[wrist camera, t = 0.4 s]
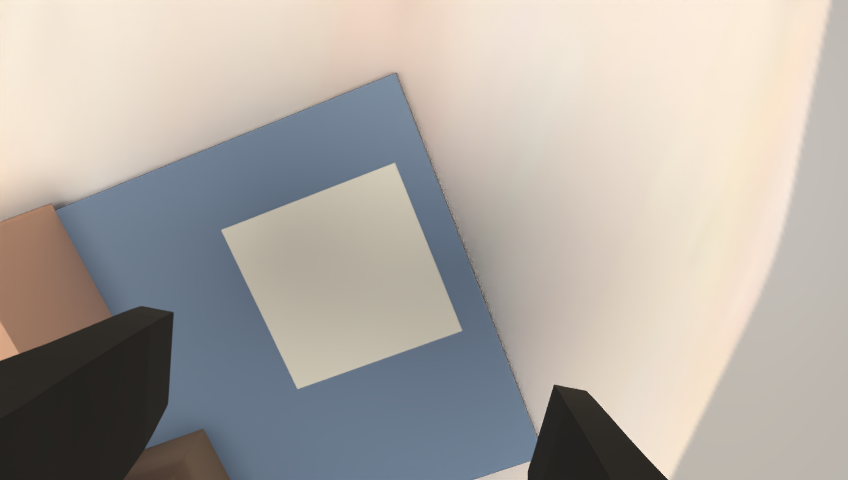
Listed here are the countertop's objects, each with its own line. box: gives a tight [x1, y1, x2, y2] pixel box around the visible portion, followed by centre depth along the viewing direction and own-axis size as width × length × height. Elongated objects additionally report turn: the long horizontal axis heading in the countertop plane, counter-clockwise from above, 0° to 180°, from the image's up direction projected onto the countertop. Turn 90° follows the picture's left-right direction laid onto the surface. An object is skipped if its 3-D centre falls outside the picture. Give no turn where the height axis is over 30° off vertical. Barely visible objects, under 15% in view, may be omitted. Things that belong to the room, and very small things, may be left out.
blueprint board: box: [55, 73, 538, 480], centre depth 23 cm, size 18×14×1 cm
